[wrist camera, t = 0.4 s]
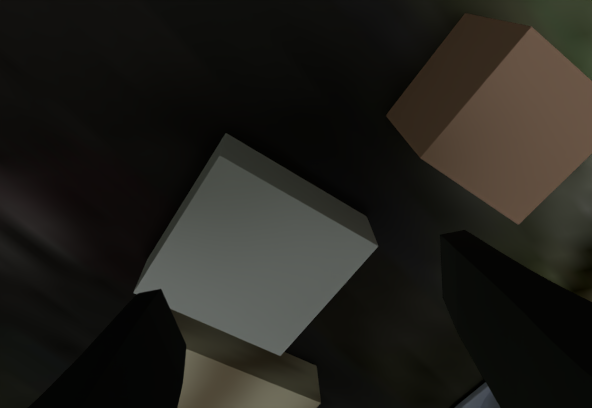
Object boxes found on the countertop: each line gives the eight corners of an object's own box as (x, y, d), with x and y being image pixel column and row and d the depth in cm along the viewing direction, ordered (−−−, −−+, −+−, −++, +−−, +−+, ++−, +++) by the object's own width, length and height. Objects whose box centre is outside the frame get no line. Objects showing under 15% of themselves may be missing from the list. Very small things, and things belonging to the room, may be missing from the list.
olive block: (315, 360, 27) (320, 403, 24) (234, 446, 30) (231, 491, 28) (167, 295, 24) (155, 336, 21) (97, 399, 27) (79, 445, 25)
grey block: (365, 212, 22) (378, 246, 19) (279, 314, 25) (280, 356, 22) (226, 130, 19) (219, 155, 17) (149, 254, 22) (133, 292, 20)
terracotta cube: (545, 82, 19) (630, 115, 14) (465, 171, 21) (518, 224, 16) (464, 12, 17) (531, 26, 13) (385, 115, 19) (420, 157, 15)
